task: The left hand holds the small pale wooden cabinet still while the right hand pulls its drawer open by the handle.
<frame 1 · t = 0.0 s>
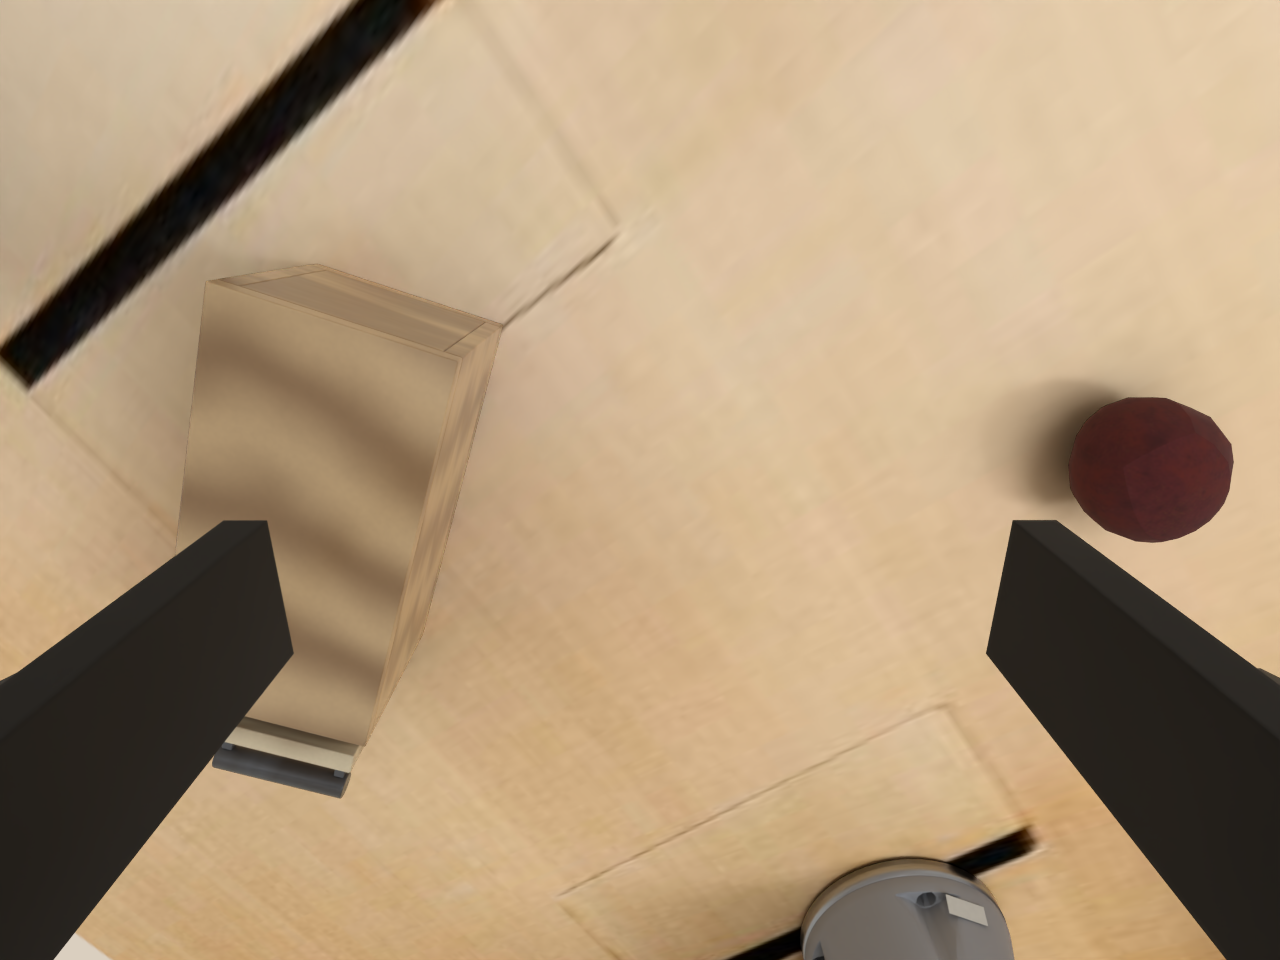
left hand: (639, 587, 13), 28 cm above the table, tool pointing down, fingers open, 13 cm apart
cabinet: (374, 466, 42), on the table
drawer: (320, 598, 39), point 5 cm above the table, slide at 1.7 cm
dark red ball: (1104, 446, 41), on the table
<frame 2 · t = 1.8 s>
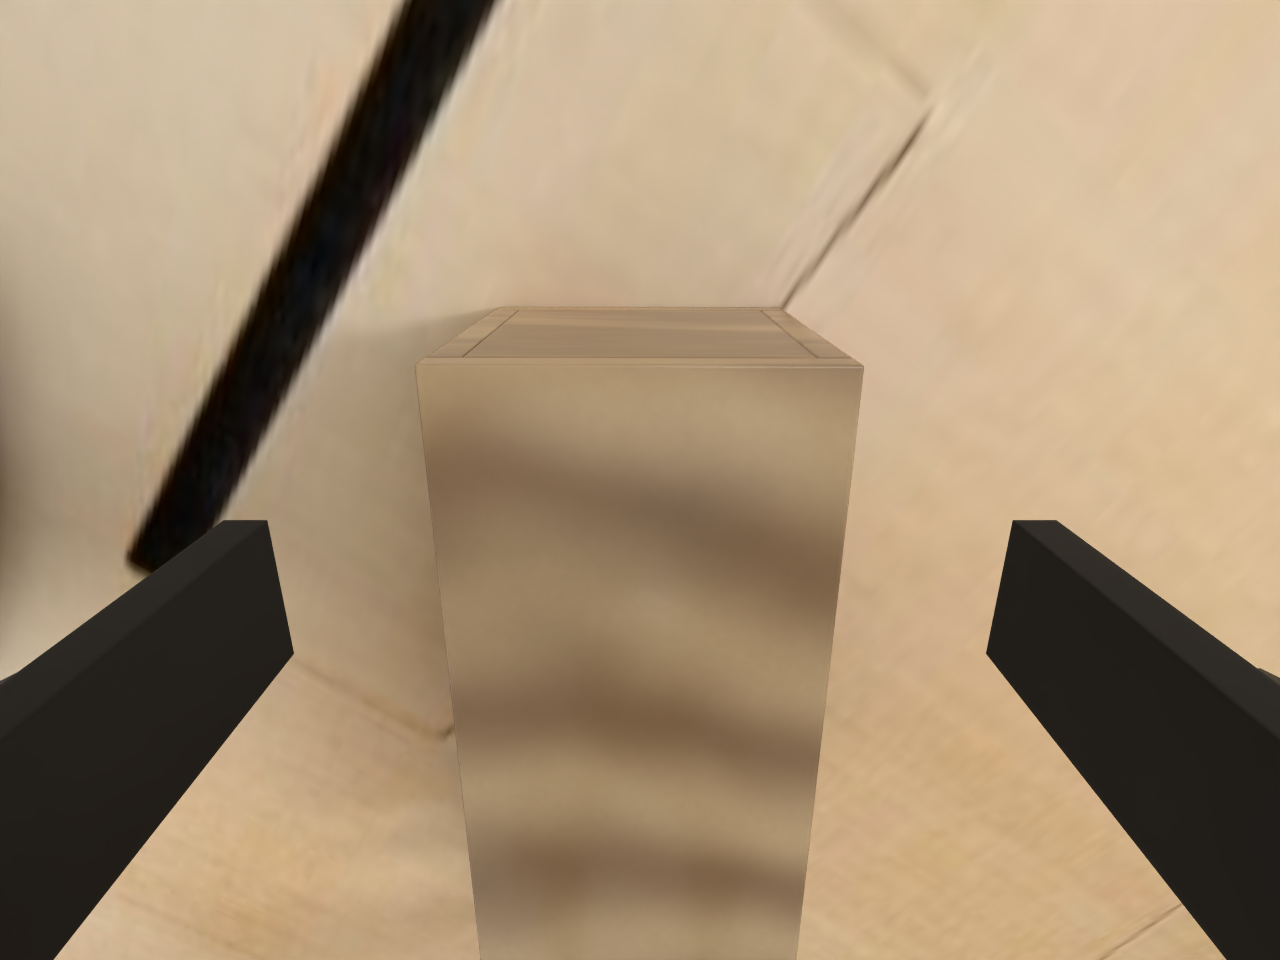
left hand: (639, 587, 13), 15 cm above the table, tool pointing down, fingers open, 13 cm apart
cabinet: (639, 563, 29), on the table
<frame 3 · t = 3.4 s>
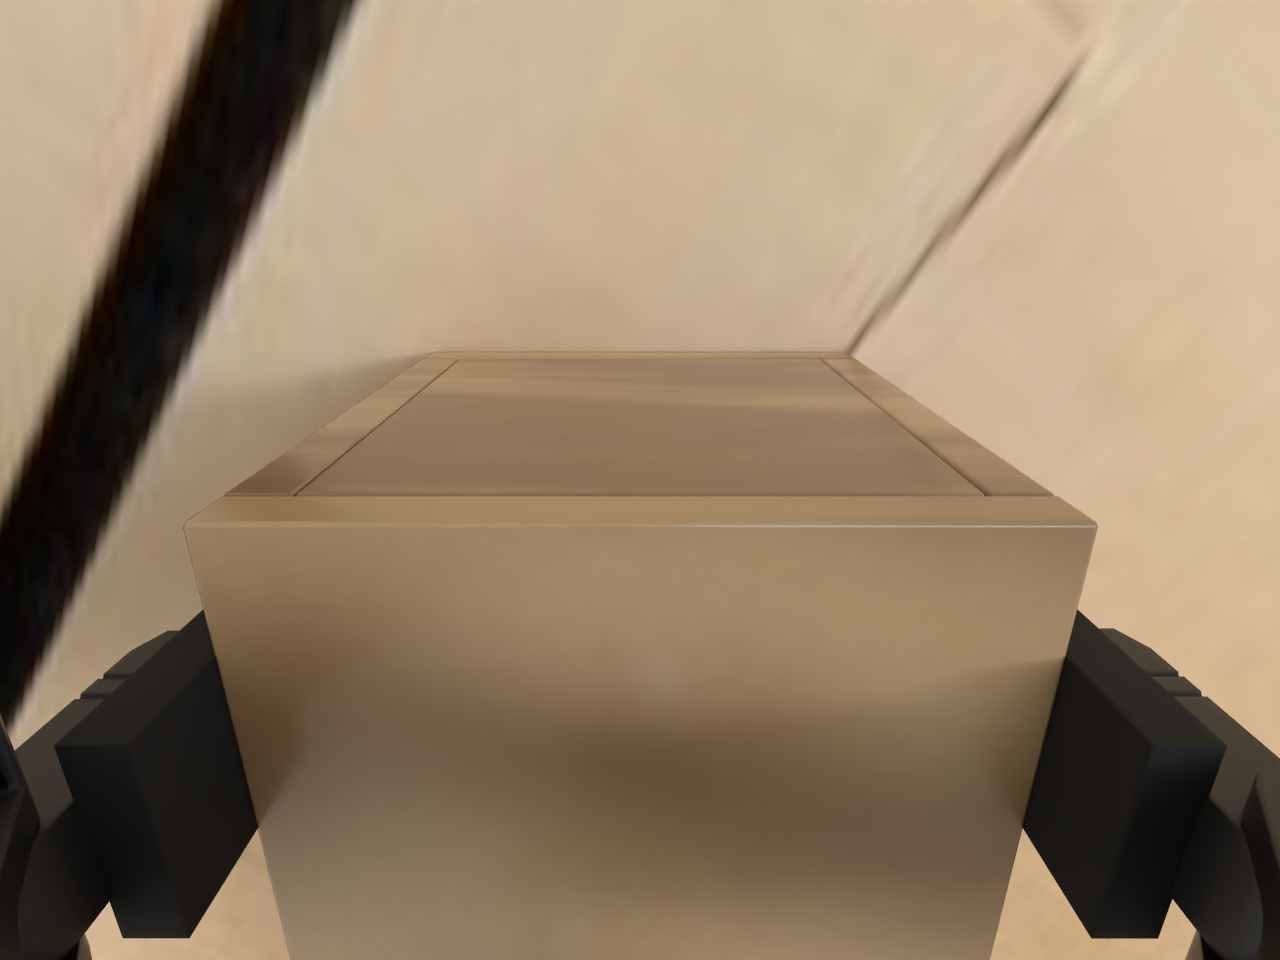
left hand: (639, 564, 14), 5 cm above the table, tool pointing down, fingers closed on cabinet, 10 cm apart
cabinet: (639, 699, 21), on the table, touching left hand
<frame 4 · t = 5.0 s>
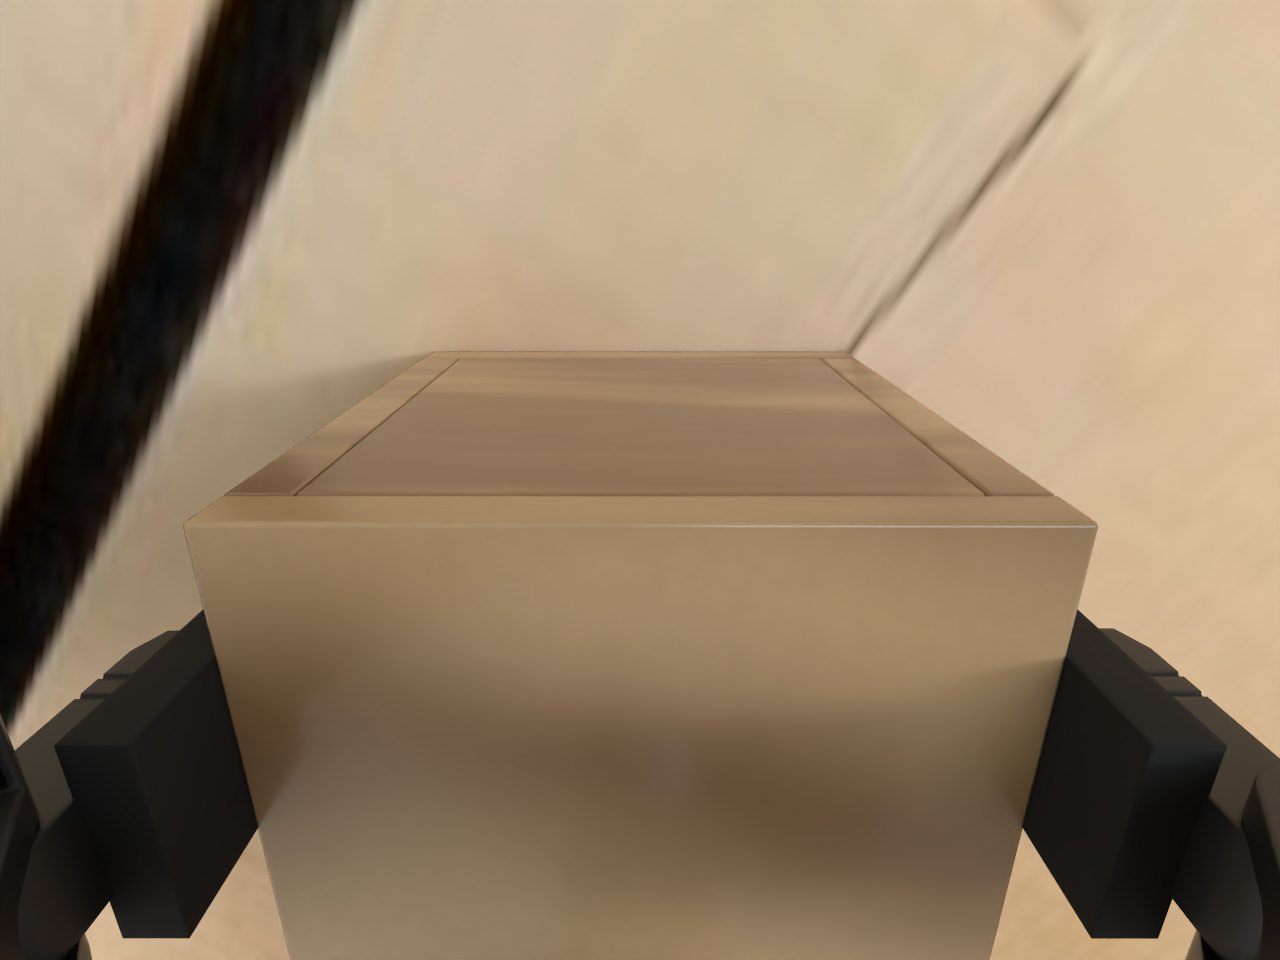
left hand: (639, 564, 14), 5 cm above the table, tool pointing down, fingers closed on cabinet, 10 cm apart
cabinet: (639, 698, 21), on the table, touching left hand
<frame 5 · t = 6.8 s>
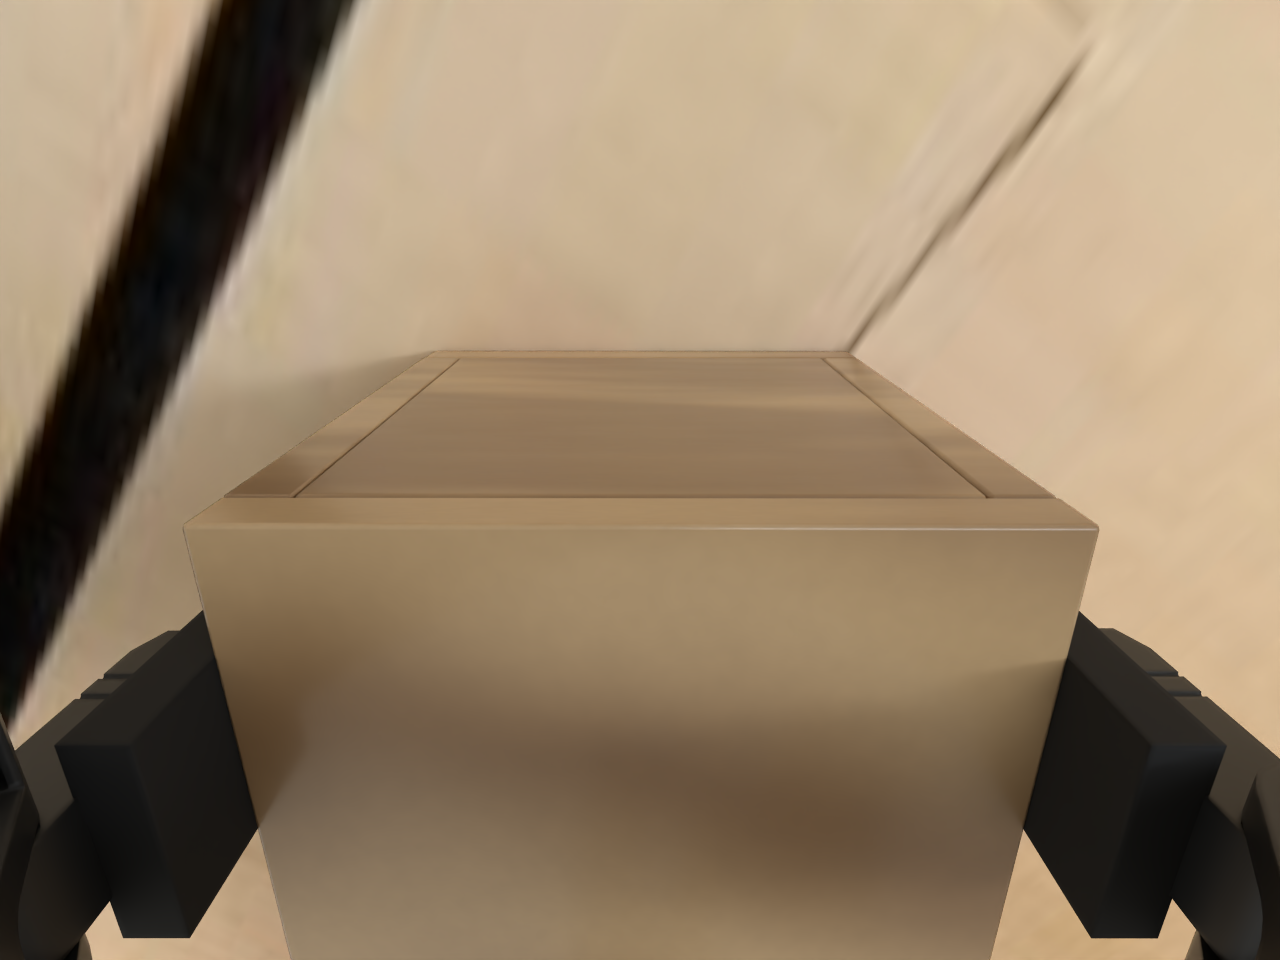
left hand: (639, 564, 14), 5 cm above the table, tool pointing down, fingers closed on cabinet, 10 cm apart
cabinet: (640, 698, 21), on the table, touching left hand
when the left hand's fingers open (5 cm above the table, at t = 8.3 s): cabinet stays where it is, on the table.
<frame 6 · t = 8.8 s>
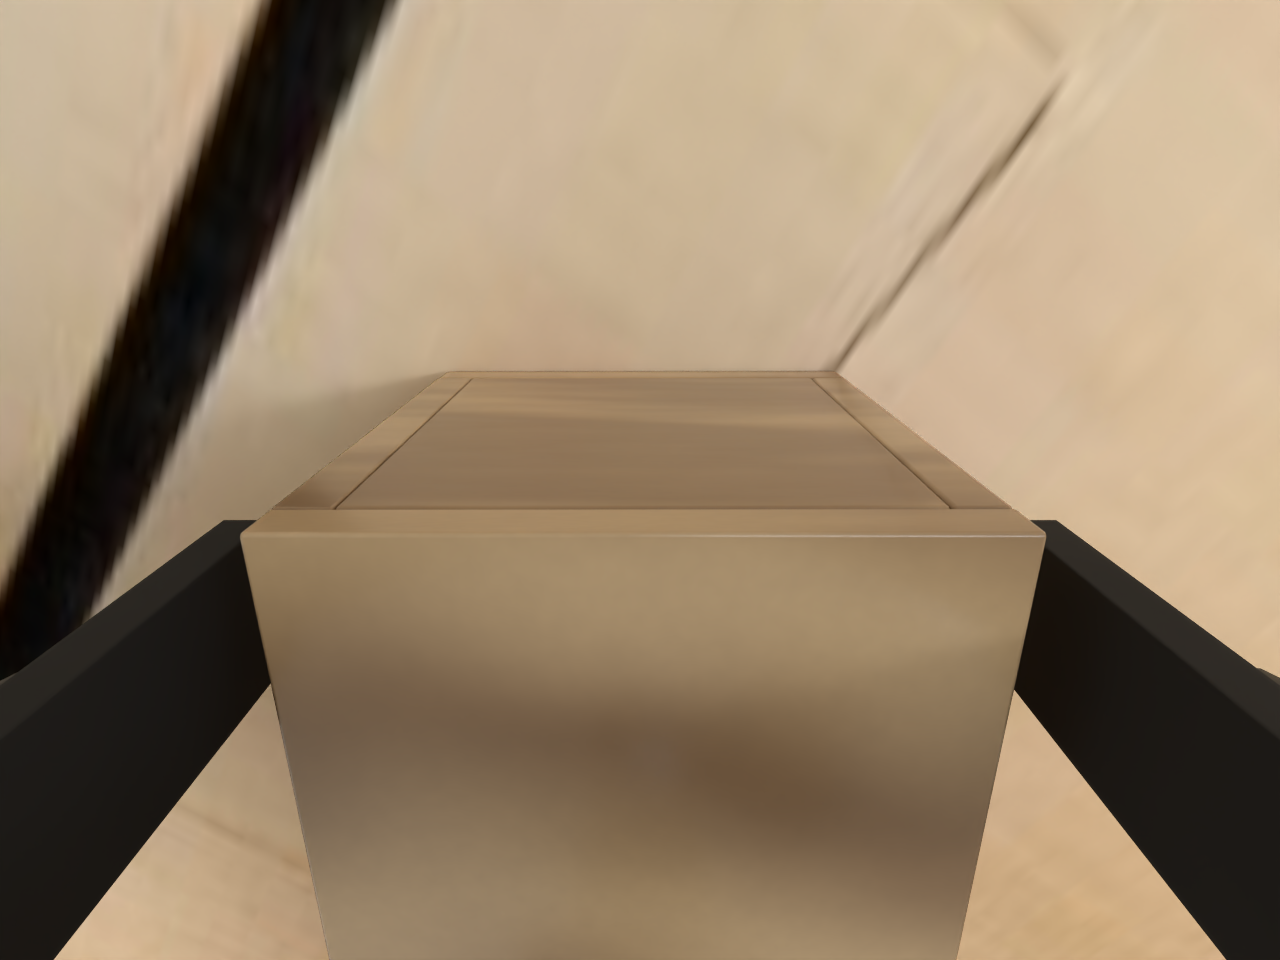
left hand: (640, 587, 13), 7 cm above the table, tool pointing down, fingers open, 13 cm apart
cabinet: (641, 700, 22), on the table
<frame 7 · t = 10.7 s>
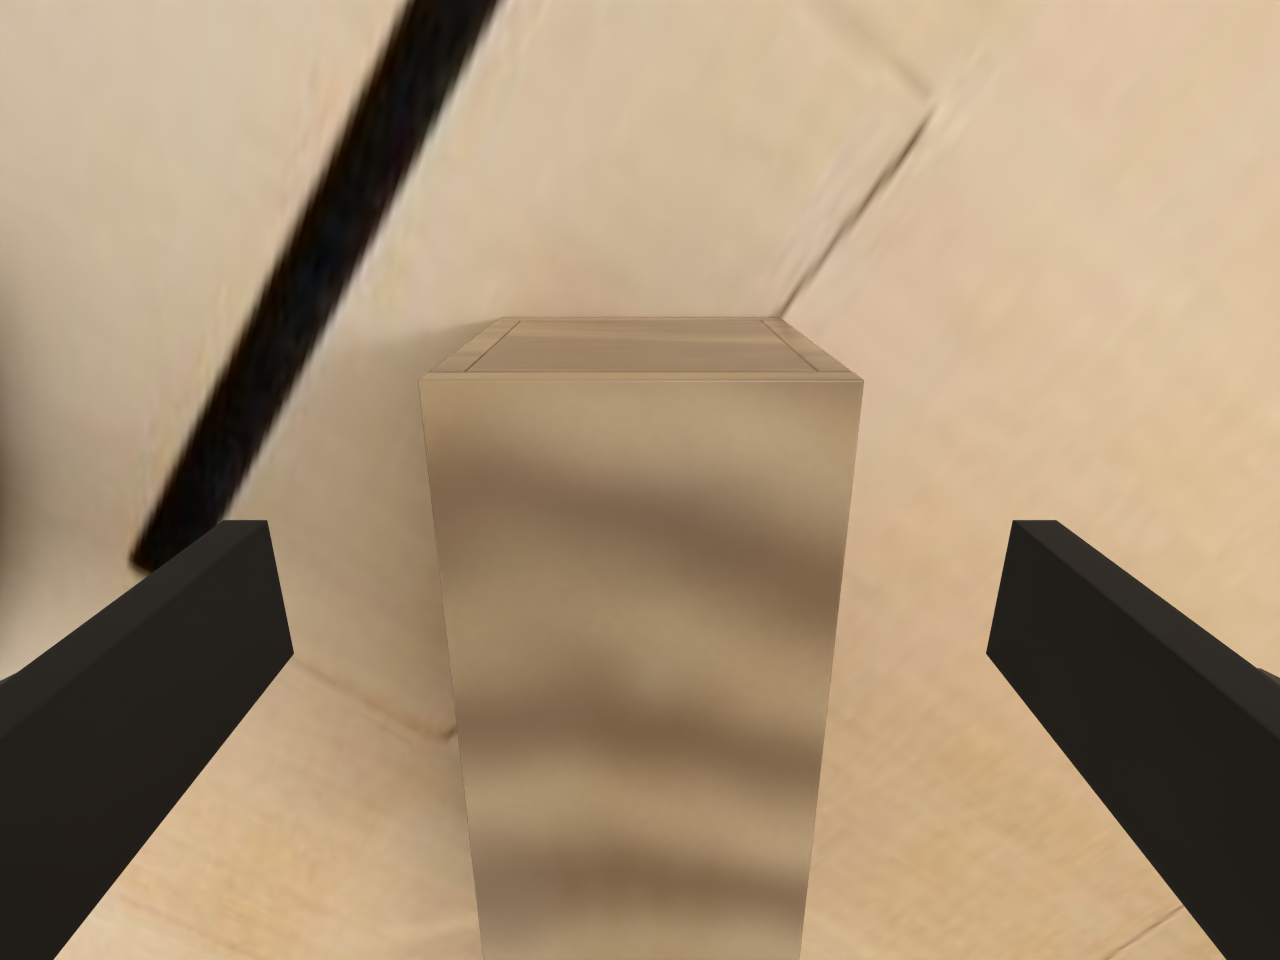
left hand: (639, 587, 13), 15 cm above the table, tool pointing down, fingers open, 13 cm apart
cabinet: (640, 570, 29), on the table
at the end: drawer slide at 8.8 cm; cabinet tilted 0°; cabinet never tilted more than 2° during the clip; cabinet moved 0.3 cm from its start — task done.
